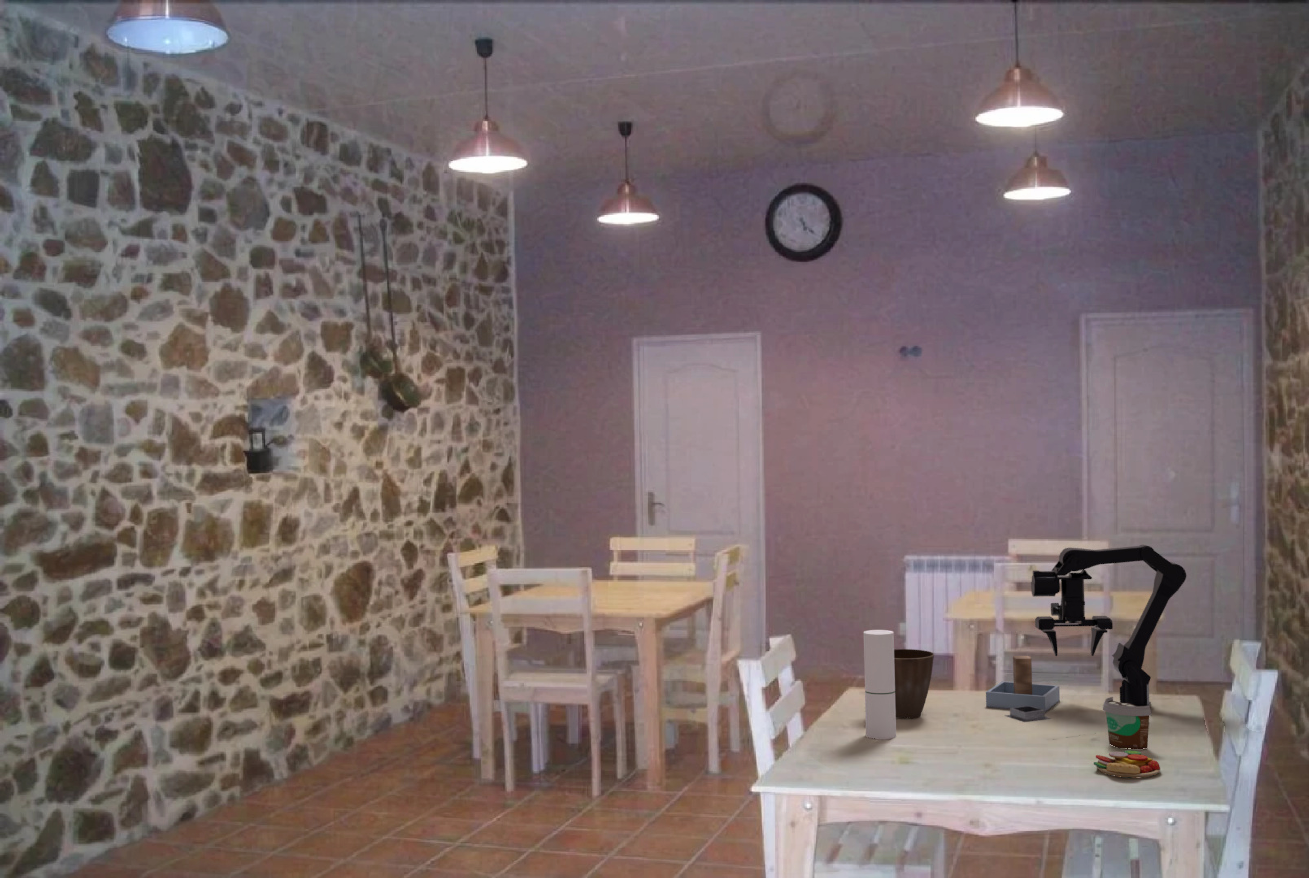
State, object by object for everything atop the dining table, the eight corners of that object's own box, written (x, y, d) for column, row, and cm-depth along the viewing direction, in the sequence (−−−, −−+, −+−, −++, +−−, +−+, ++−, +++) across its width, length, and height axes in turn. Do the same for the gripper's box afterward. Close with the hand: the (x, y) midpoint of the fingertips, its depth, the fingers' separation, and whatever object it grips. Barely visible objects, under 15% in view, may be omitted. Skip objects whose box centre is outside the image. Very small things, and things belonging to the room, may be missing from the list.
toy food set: (1119, 783, 267) (1118, 767, 267) (1080, 767, 279) (1080, 752, 279) (1173, 776, 270) (1173, 761, 270) (1133, 761, 283) (1133, 746, 283)
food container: (1091, 742, 300) (1090, 699, 300) (1111, 739, 302) (1110, 696, 302) (1131, 753, 289) (1130, 709, 289) (1152, 750, 291) (1151, 706, 291)
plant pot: (866, 712, 337) (865, 650, 337) (918, 707, 341) (917, 646, 341) (891, 724, 323) (890, 660, 323) (945, 719, 327) (944, 656, 327)
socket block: (1030, 714, 329) (1030, 704, 329) (1051, 720, 322) (1050, 710, 322) (1004, 717, 327) (1004, 707, 327) (1024, 724, 319) (1024, 713, 319)
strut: (1029, 701, 342) (1028, 655, 342) (1032, 704, 337) (1031, 658, 337) (1013, 701, 342) (1012, 655, 342) (1016, 704, 338) (1015, 658, 338)
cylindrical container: (894, 732, 315) (892, 629, 314) (897, 739, 307) (894, 634, 307) (865, 732, 315) (862, 629, 315) (867, 739, 308) (864, 634, 308)
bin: (1059, 702, 342) (1059, 685, 342) (1045, 714, 329) (1045, 696, 329) (1002, 697, 350) (1002, 681, 350) (986, 709, 337) (985, 691, 337)
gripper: (1101, 591, 346) (1103, 650, 346) (1030, 592, 347) (1031, 650, 348) (1112, 597, 335) (1113, 657, 335) (1038, 598, 336) (1040, 658, 336)
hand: (1074, 655), depth 339 cm, fingers open, 9 cm apart
